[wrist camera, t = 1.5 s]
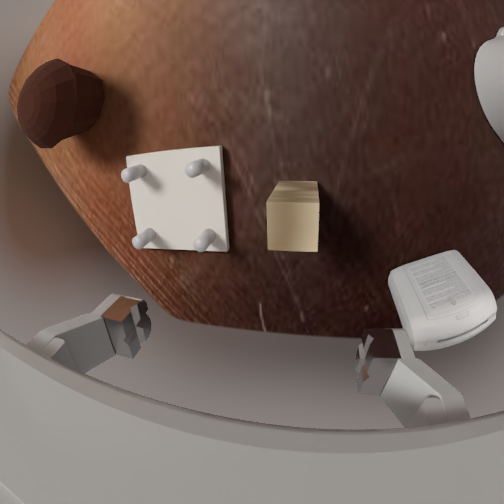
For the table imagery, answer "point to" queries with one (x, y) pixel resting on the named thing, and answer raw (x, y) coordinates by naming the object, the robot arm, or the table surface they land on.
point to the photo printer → (441, 301)
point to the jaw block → (293, 216)
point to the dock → (179, 199)
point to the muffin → (58, 103)
